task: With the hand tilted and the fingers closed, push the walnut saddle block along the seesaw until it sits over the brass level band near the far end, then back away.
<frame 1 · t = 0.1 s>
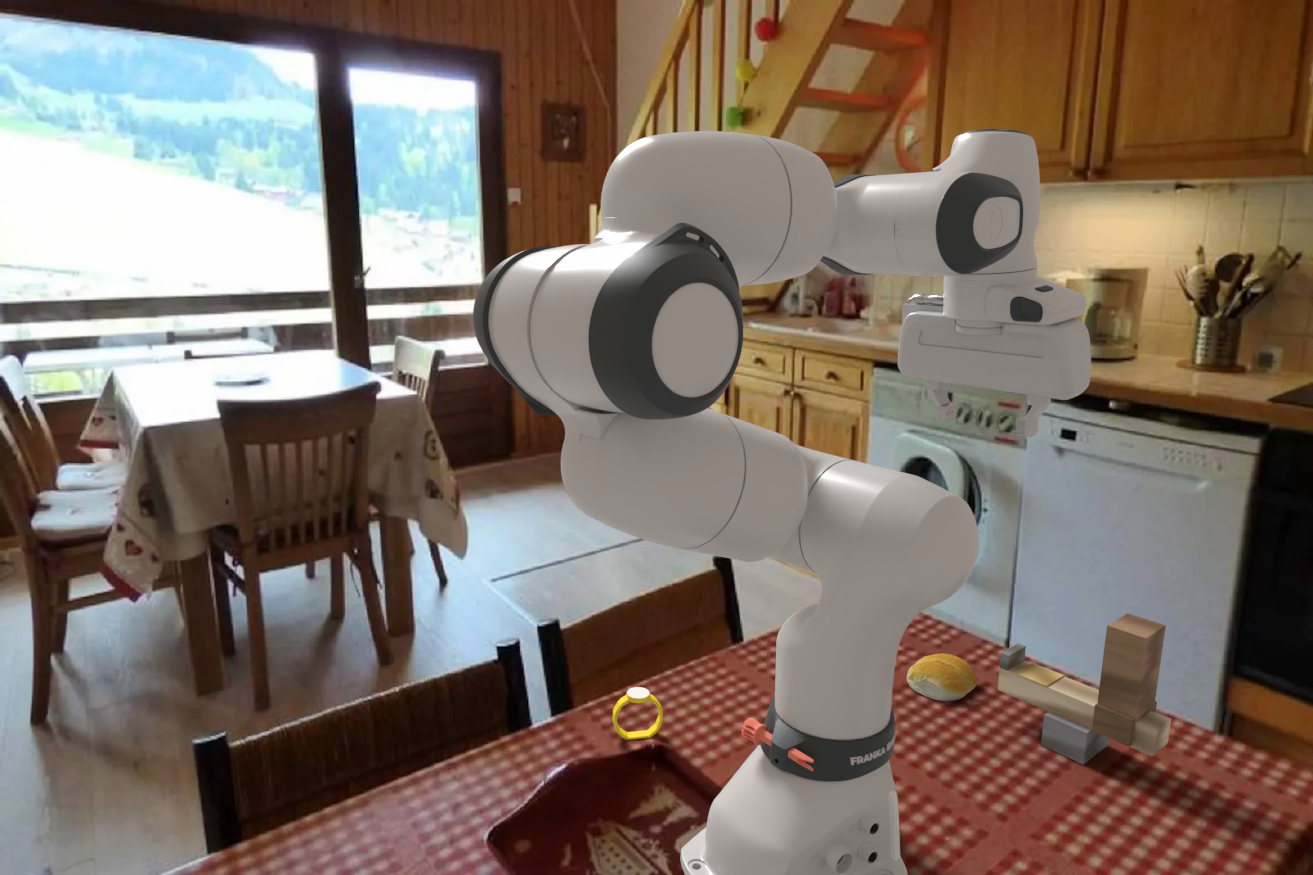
hand: (984, 427, 91), 39 cm above the table, tool pointing down, fingers open, 8 cm apart
bread roll: (940, 688, 115), on the table
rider: (1129, 677, 95), point 11 cm above the table, slide at 0.0 cm
seesaw: (1074, 745, 101), on the table
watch: (638, 737, 104), on the table
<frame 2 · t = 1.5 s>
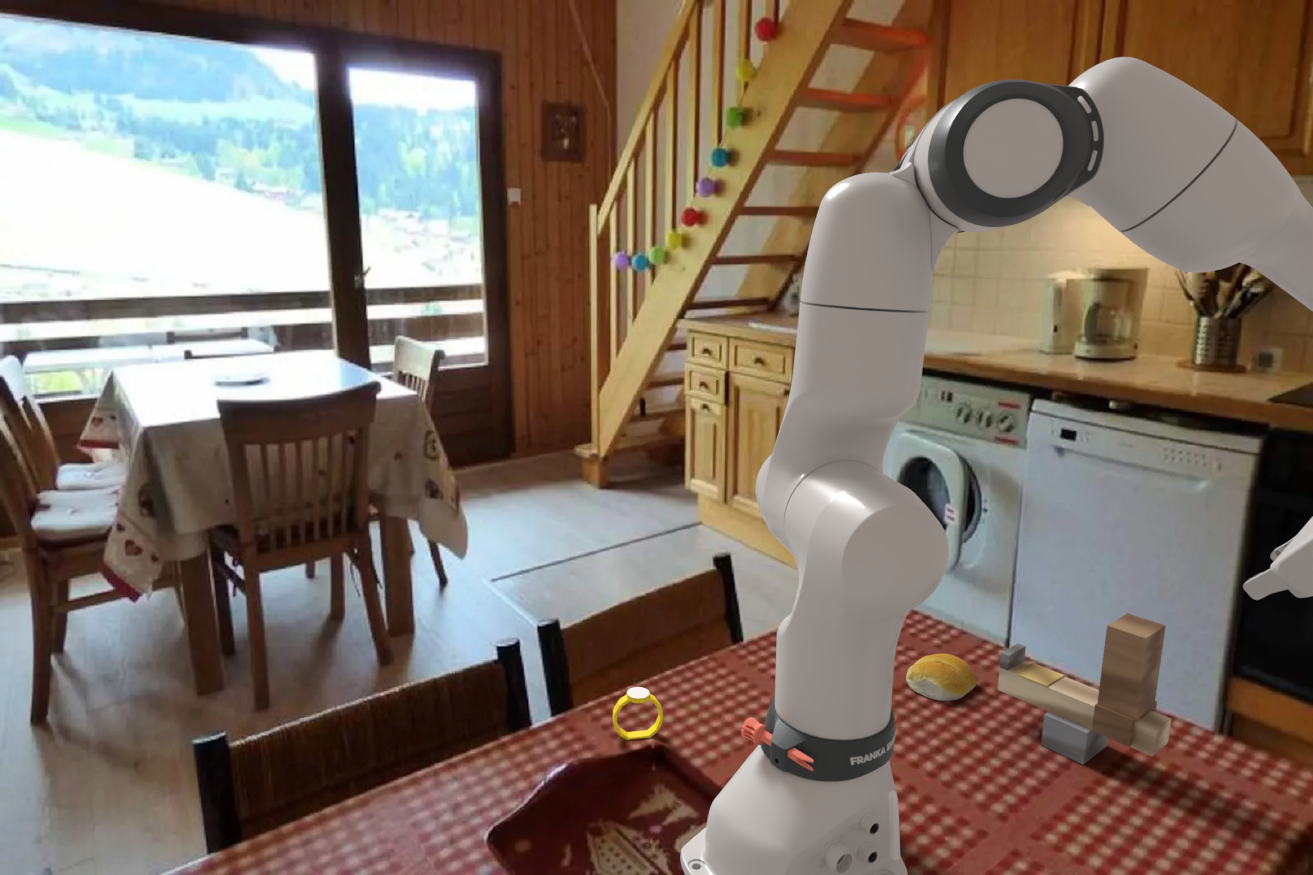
hand: (1263, 575, 84), 26 cm above the table, tool tilted 45°, fingers open, 8 cm apart
nothing on the table moved.
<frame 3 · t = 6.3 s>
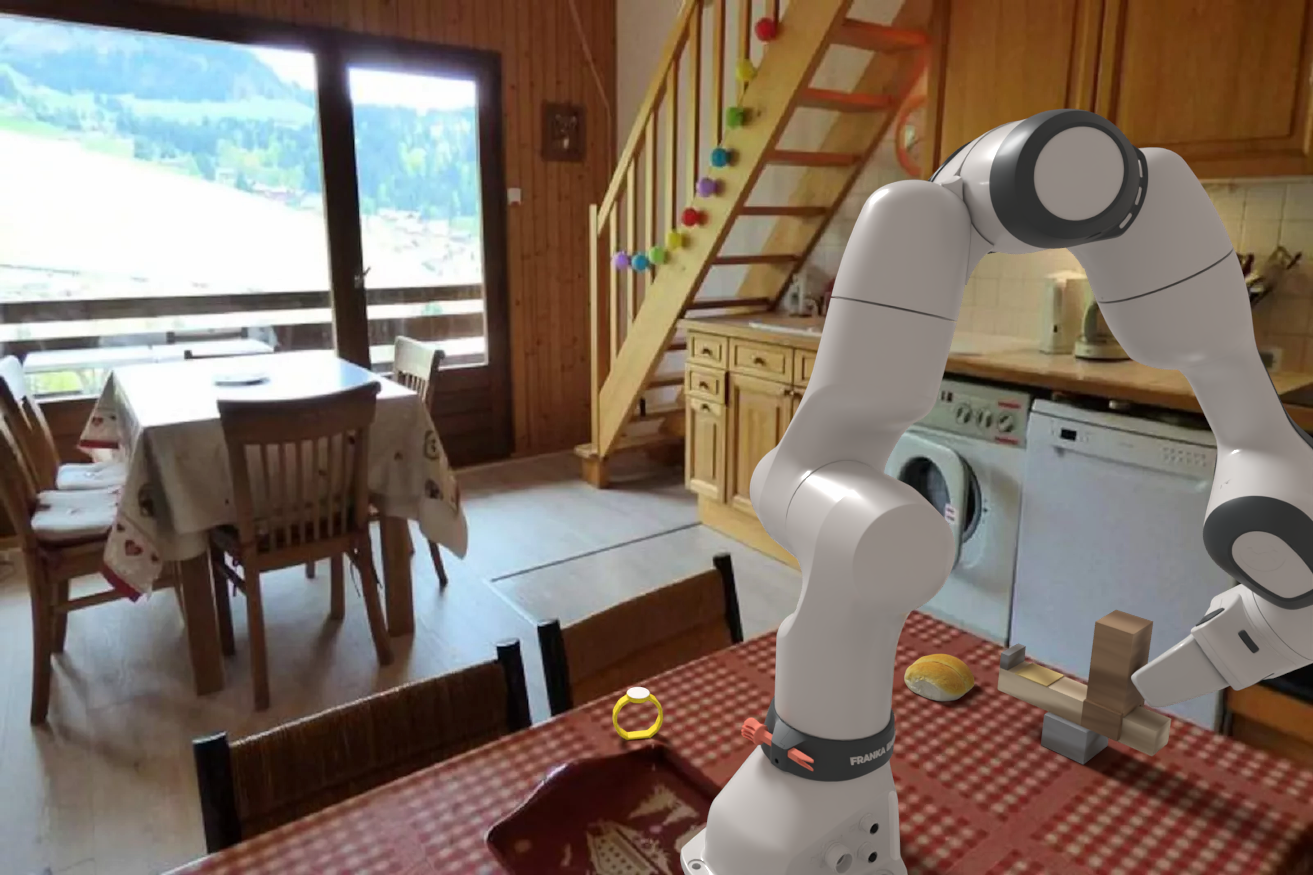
hand: (1142, 680, 94), 11 cm above the table, tool tilted 45°, fingers closed, pressing on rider
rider: (1117, 673, 96), point 11 cm above the table, slide at 1.3 cm, touching gripper
everything else where it was.
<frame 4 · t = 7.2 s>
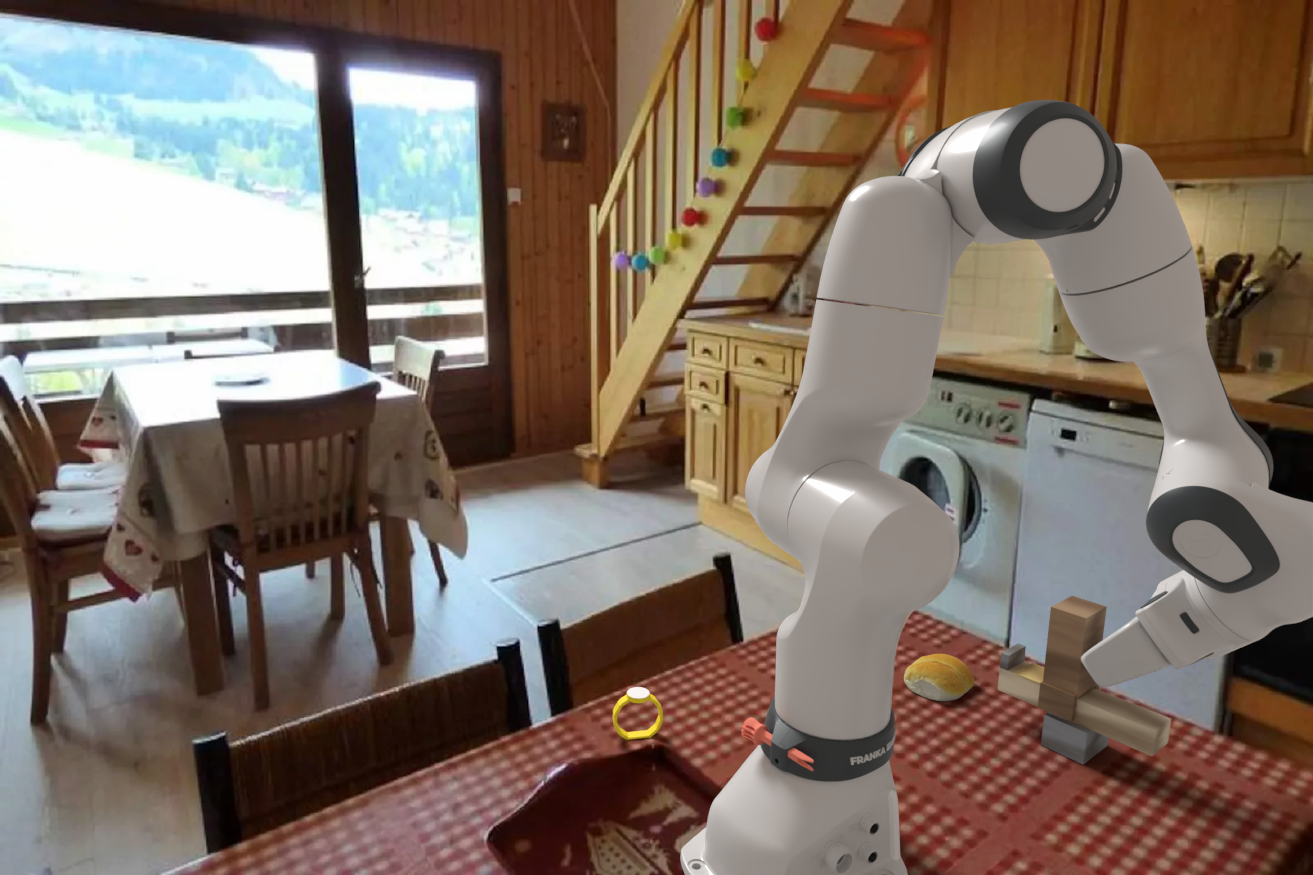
hand: (1095, 663, 98), 11 cm above the table, tool tilted 45°, fingers closed, pressing on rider
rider: (1073, 656, 100), point 11 cm above the table, slide at 6.3 cm, touching gripper
everything else where it was.
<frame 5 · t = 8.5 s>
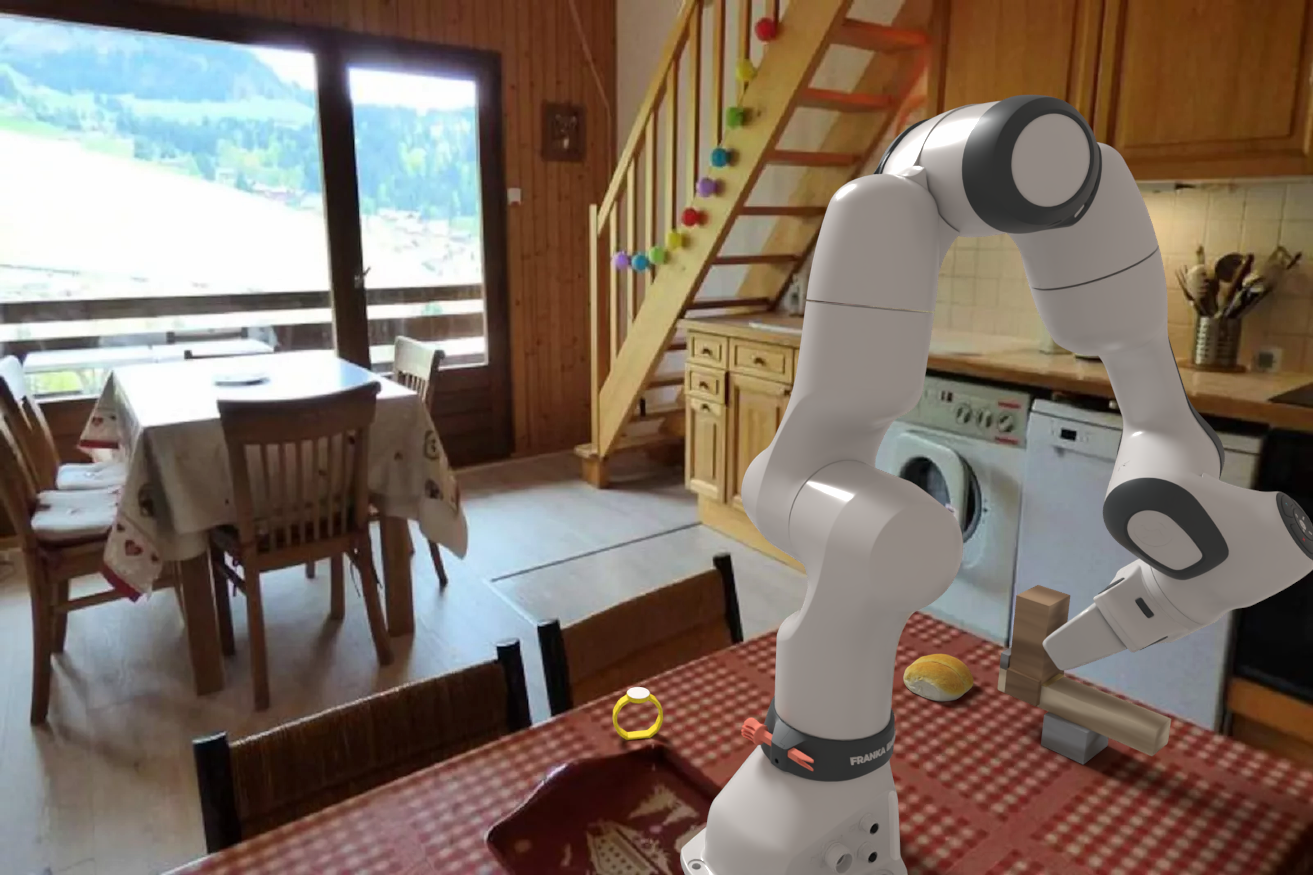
hand: (1059, 648, 101), 11 cm above the table, tool tilted 45°, fingers closed, pressing on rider
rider: (1038, 643, 103), point 11 cm above the table, slide at 10.5 cm, touching gripper
everything else where it was.
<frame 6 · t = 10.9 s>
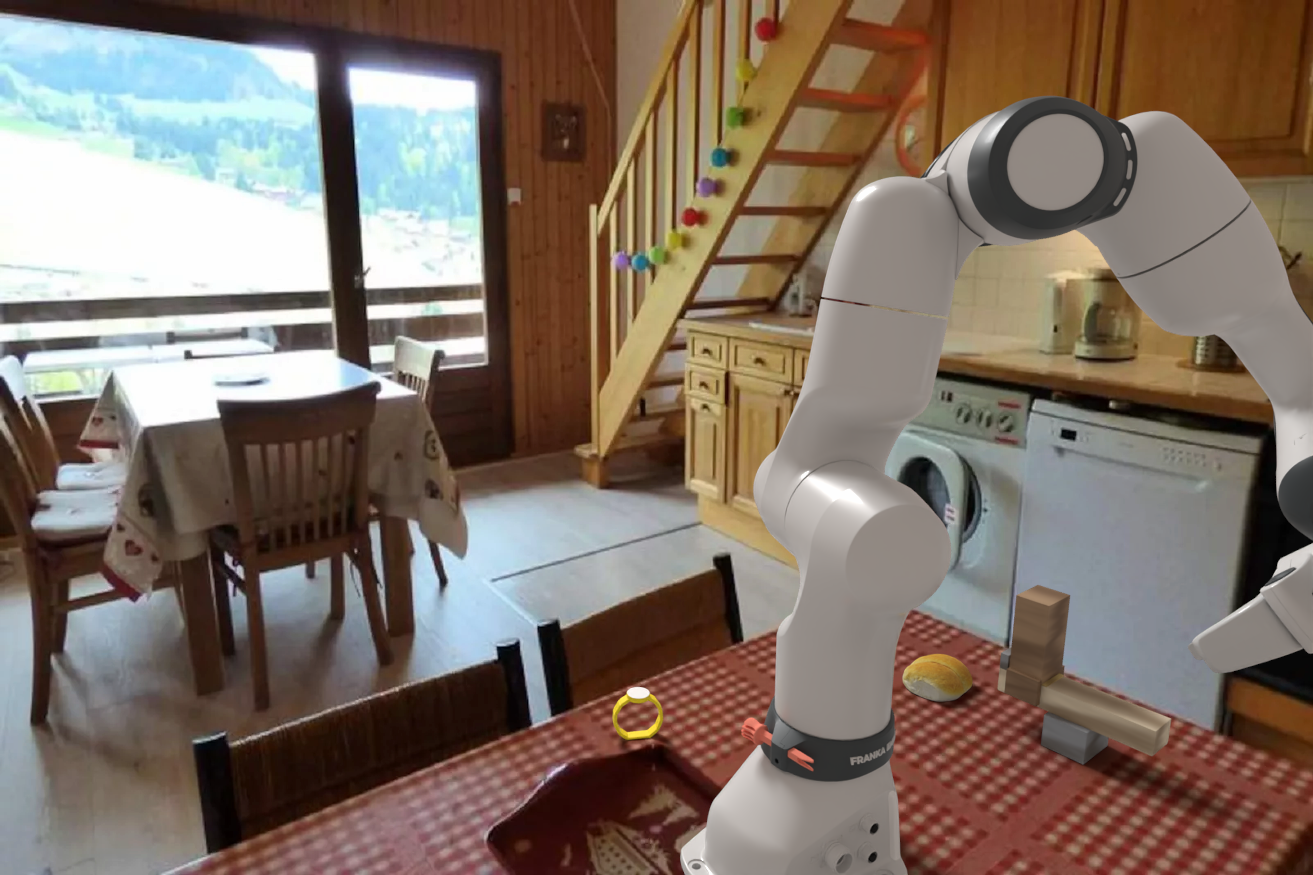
hand: (1197, 649, 89), 17 cm above the table, tool tilted 45°, fingers closed
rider: (1038, 643, 103), point 11 cm above the table, slide at 10.5 cm
everything else where it was.
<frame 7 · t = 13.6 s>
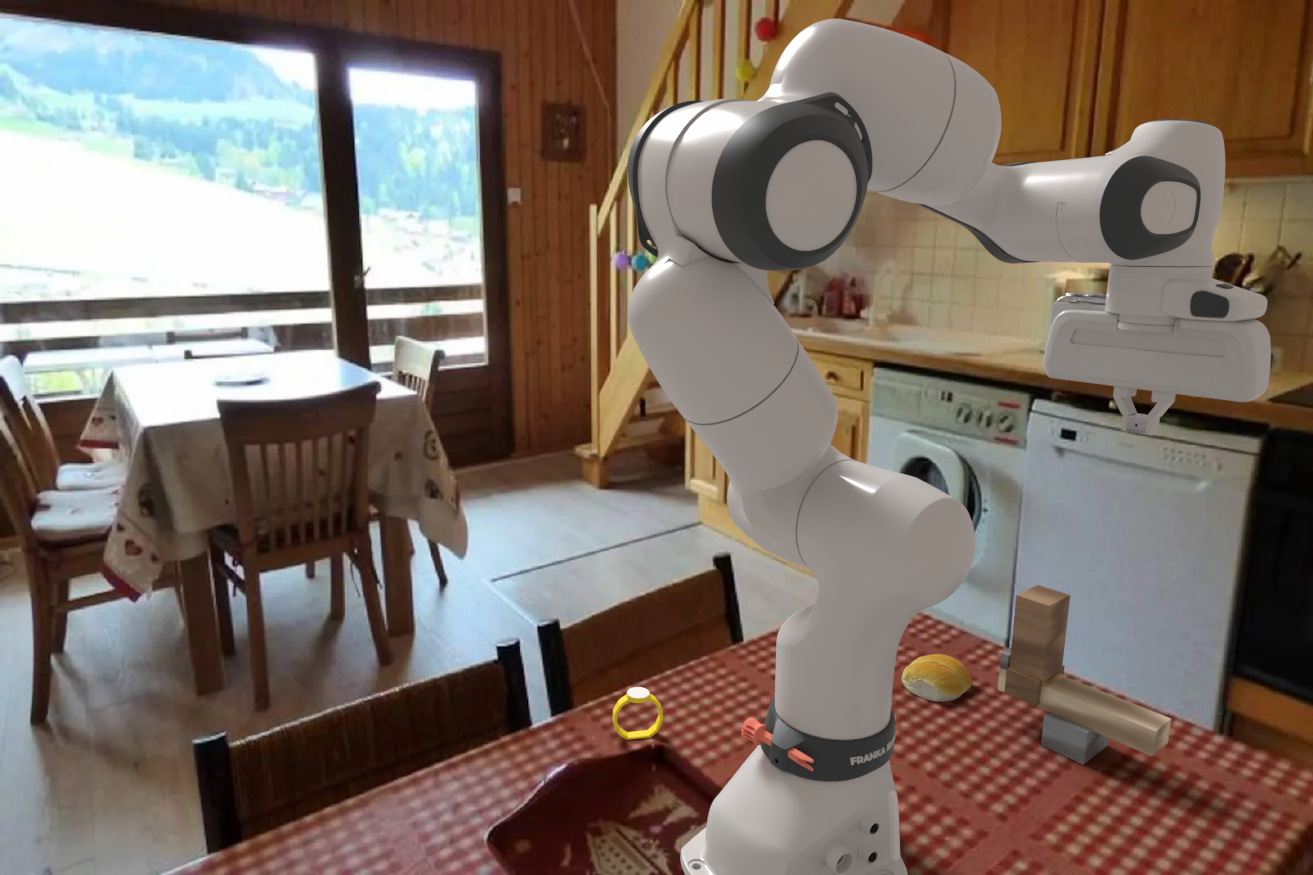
hand: (1139, 432, 88), 39 cm above the table, tool pointing down, fingers closed
nothing on the table moved.
at the end: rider slide at 10.5 cm; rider touching nothing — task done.
